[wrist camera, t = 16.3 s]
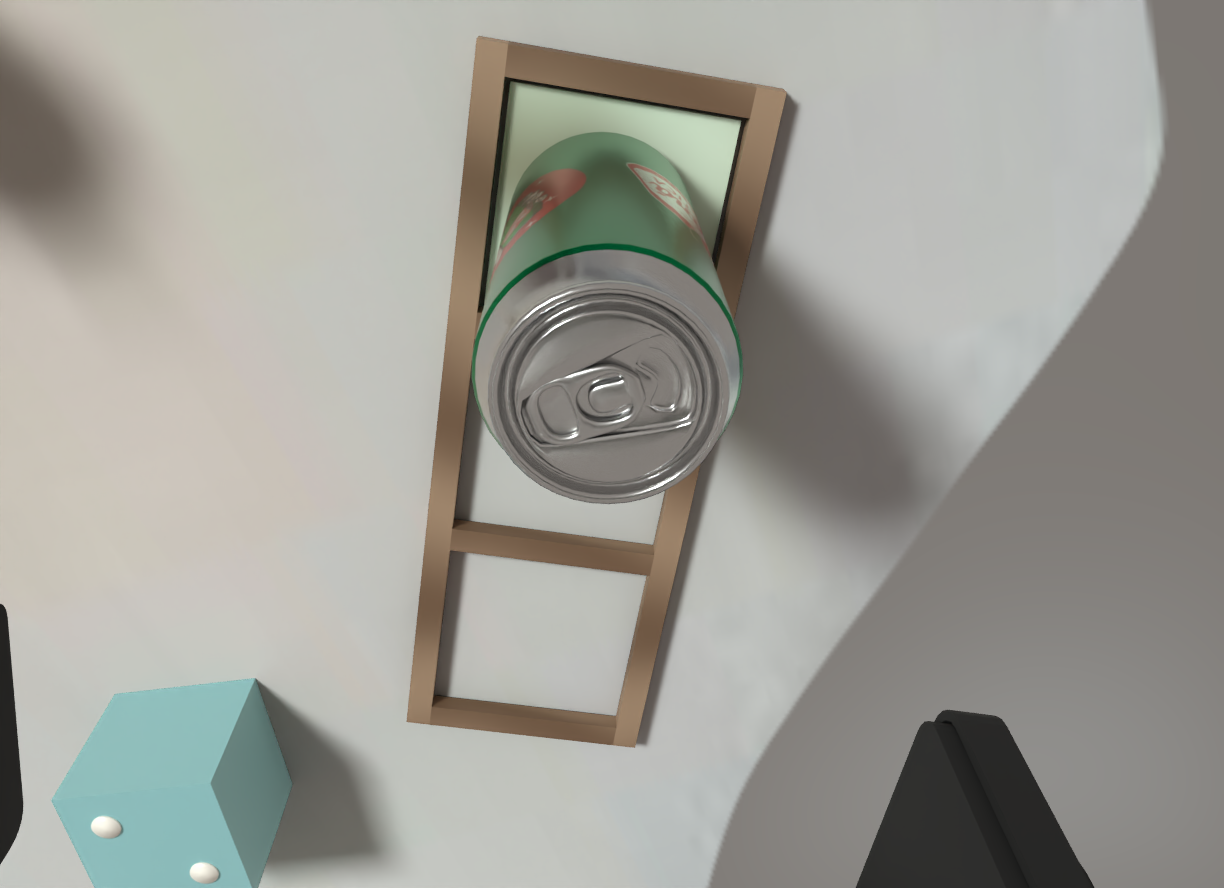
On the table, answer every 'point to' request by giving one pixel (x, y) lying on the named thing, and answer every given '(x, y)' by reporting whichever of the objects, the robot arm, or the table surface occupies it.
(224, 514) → the table surface
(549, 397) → the soda can
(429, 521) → the wooden frame
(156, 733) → the die
